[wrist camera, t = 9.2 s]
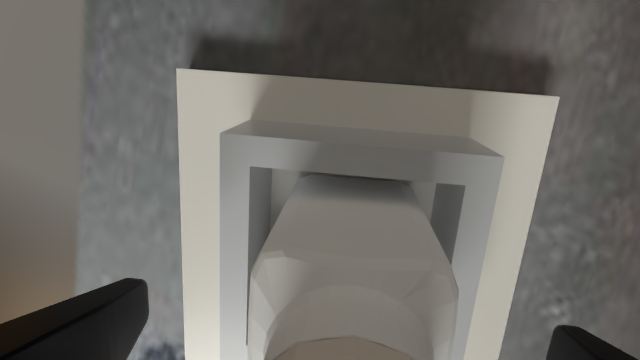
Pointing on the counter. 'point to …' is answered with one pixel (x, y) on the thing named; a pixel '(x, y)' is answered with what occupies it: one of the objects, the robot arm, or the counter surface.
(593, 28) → the counter surface
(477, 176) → the outlet plate
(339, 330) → the pepper shaker
